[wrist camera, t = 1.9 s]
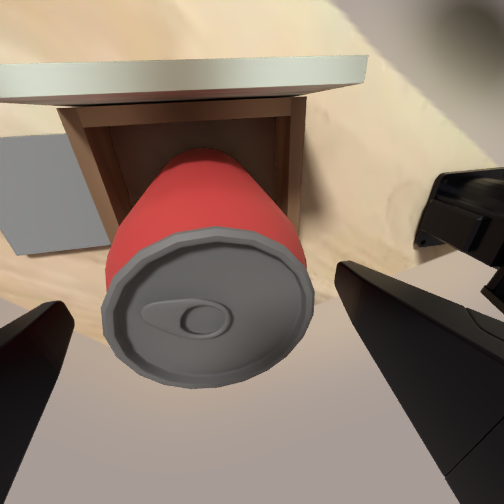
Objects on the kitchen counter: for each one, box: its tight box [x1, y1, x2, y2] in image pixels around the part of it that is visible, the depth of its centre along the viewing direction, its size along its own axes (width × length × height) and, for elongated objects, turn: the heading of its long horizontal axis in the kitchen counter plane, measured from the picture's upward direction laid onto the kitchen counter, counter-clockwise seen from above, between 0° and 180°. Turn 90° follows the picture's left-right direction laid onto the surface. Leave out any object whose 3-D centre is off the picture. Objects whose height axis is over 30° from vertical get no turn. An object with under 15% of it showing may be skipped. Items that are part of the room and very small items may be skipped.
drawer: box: [0, 55, 368, 245], centre depth 13 cm, size 12×12×8 cm
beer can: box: [101, 148, 315, 389], centre depth 11 cm, size 7×7×12 cm
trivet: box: [0, 133, 111, 256], centre depth 15 cm, size 6×7×1 cm
